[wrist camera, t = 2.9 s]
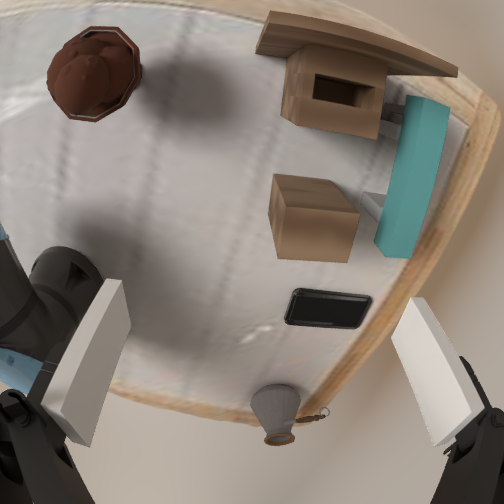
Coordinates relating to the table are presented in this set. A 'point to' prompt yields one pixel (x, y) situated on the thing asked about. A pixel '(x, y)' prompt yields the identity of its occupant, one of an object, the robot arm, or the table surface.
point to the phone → (326, 309)
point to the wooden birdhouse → (339, 71)
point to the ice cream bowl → (94, 73)
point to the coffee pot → (279, 413)
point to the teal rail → (412, 174)
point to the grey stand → (373, 200)
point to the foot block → (311, 219)
